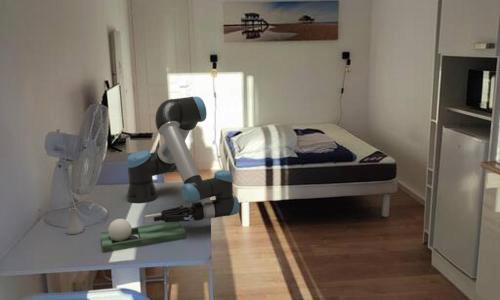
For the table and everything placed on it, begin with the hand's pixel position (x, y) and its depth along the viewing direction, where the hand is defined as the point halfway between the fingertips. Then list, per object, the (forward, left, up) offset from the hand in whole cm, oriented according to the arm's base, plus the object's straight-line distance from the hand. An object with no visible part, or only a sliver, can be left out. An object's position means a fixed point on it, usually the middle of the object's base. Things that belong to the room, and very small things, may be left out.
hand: (145, 219), depth 191 cm
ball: (0, -10, -3) cm, 11 cm away
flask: (-19, -27, -8) cm, 34 cm away
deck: (0, -1, -8) cm, 8 cm away
